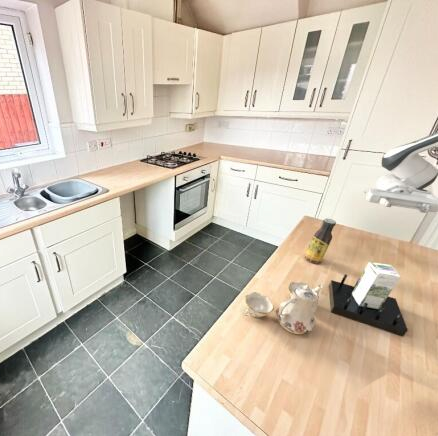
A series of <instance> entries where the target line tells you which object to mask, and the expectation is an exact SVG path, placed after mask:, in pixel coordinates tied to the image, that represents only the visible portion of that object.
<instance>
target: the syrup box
mask: <svg viewBox="0 0 438 436" xmlns="http://www.w3.org/2000/svg"><path fill="white" fill-rule="evenodd" d="M359 278H360V279H359ZM359 278H358V279H359V281H358V280H357V281H358V283H357V282H356V283H357V285H356V287H355V288H354V290H353V292H352V295H353V297H354V299H355V300H356V302H357V303H358V305H359V306H362V307H363V305H364V303H367V304H368V305H367V307H368V308H373V309H380V308H381V306H382V305H383V303H384V302H385V300H386V299H387V297H390V294H391V293H392V291H393V290H394V288H395V287H396V286H397V284H398V283H399V281H400V280H401V278H402V277H401V275H400V273H398V271H397V270H396V269H395V267H393V266H392V264H387V263H380V262H372V261H369V262H368V263H367V265H366V267H365V268H364V270H363V272H362V274H361V275H360V277H359Z"/></svg>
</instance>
